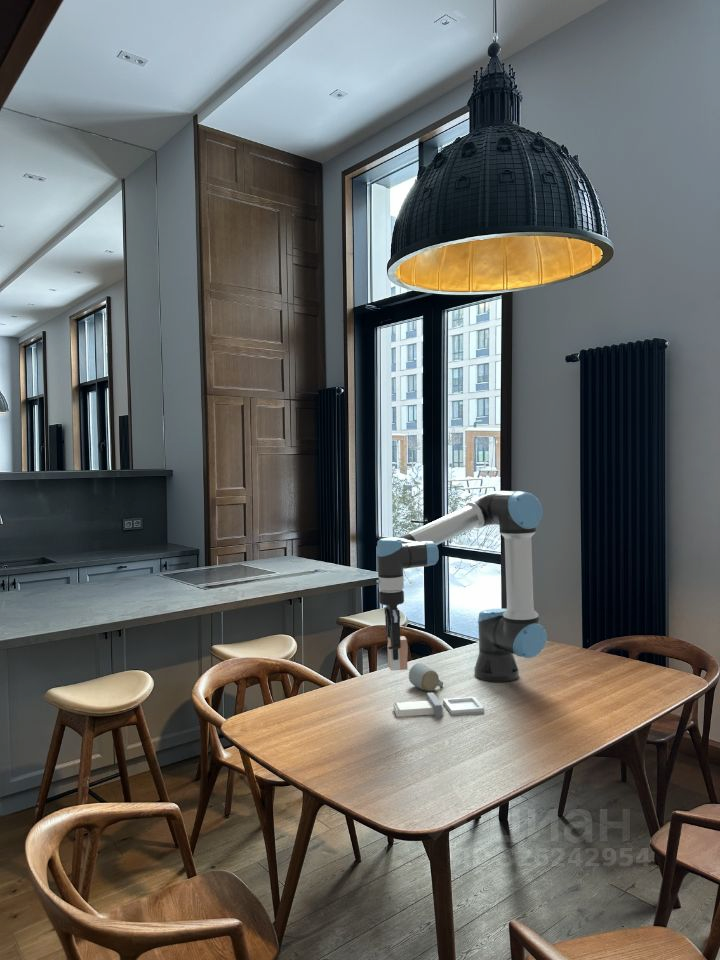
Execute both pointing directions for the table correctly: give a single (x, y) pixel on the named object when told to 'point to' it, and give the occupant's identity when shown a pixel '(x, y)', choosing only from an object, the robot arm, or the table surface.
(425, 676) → the ceramic mug
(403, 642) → the stub
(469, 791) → the table surface
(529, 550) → the robot arm
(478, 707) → the stub tray
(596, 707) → the table surface
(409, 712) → the white grey t-shaped block
